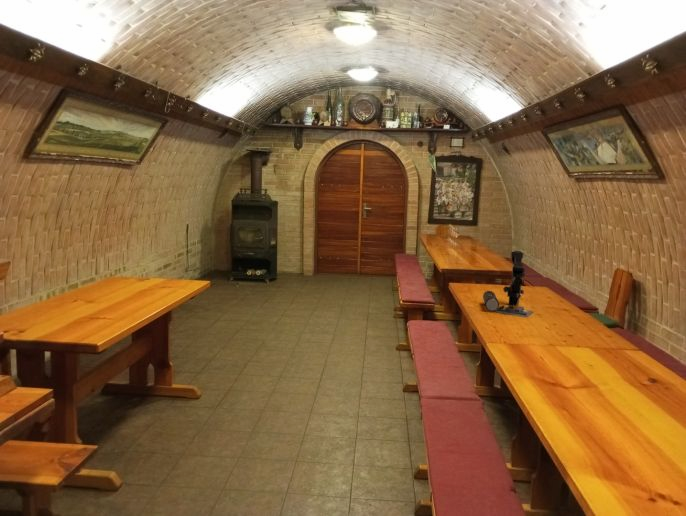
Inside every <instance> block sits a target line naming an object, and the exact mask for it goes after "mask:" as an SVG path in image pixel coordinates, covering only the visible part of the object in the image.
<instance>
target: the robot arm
mask: <svg viewBox="0 0 686 516" xmlns="http://www.w3.org/2000/svg"><path fill="white" fill-rule="evenodd" d="M510 258H511V261H512V267H511V282H510V284H509V286H504V287H503V290H502V291H503V292H504V293H507V294H506V295H507V297H508V303H506V305H508V306H510V305H515V306H516V304H517V302H518V301H519V302H520V299H521V298H522V295H524V293H525V291H524V290H523V289H521V288H522V286H523V279H522V277H524V276H525V274H526V269H525V267H524V264H523V263H522V261H523V258H524V252H522V251H521V250H514V251H511V253H510Z"/></svg>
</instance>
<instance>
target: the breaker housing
mask: <svg viewBox="0 0 686 516" xmlns="http://www.w3.org/2000/svg"><path fill="white" fill-rule="evenodd" d="M505 307H506V308H505V310H508V311H514V312H522V311H523V310H524V312H527V311H526V310H527V309H525V307H524V306H521V305H519V308H517V309H513V305H508V306H505Z"/></svg>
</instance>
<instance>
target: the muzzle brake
mask: <svg viewBox="0 0 686 516" xmlns="http://www.w3.org/2000/svg"><path fill="white" fill-rule="evenodd" d="M482 299H483V302H484V307H485V309H486V310H488V311H492V312H493V311H495V310H497V309H498V308H499V307H500V302H499V299H498V298H497V295H496V294H495V292H494V291H492V290H487V291H485V292H483V294H482Z"/></svg>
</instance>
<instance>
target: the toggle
mask: <svg viewBox="0 0 686 516" xmlns="http://www.w3.org/2000/svg"><path fill="white" fill-rule="evenodd" d="M519 306H520V300H519V301H518V302H517V304H516V306H515V305H513V309H517V308H519Z"/></svg>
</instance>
